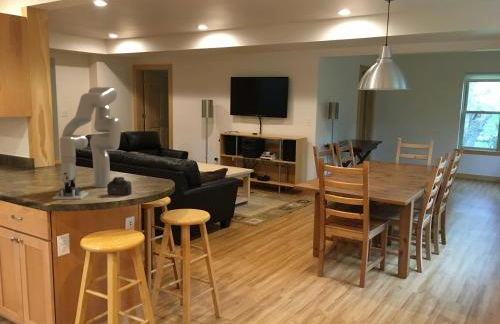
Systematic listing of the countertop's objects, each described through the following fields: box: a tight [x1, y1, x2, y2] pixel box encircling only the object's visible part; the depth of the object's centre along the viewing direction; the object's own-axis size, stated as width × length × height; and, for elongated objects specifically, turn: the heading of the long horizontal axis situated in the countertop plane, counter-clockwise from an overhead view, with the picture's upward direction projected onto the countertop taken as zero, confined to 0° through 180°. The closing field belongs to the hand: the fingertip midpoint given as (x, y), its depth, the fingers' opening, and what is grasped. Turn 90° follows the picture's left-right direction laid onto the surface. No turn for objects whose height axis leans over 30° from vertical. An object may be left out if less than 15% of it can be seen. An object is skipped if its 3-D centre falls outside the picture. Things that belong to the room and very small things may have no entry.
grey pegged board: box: [52, 190, 89, 200], centre depth 228 cm, size 12×15×4 cm
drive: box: [59, 186, 81, 196], centre depth 228 cm, size 5×9×4 cm, turn 95°
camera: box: [106, 176, 133, 196], centre depth 234 cm, size 13×10×10 cm
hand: (70, 191), depth 228 cm, fingers closed on drive, 5 cm apart
